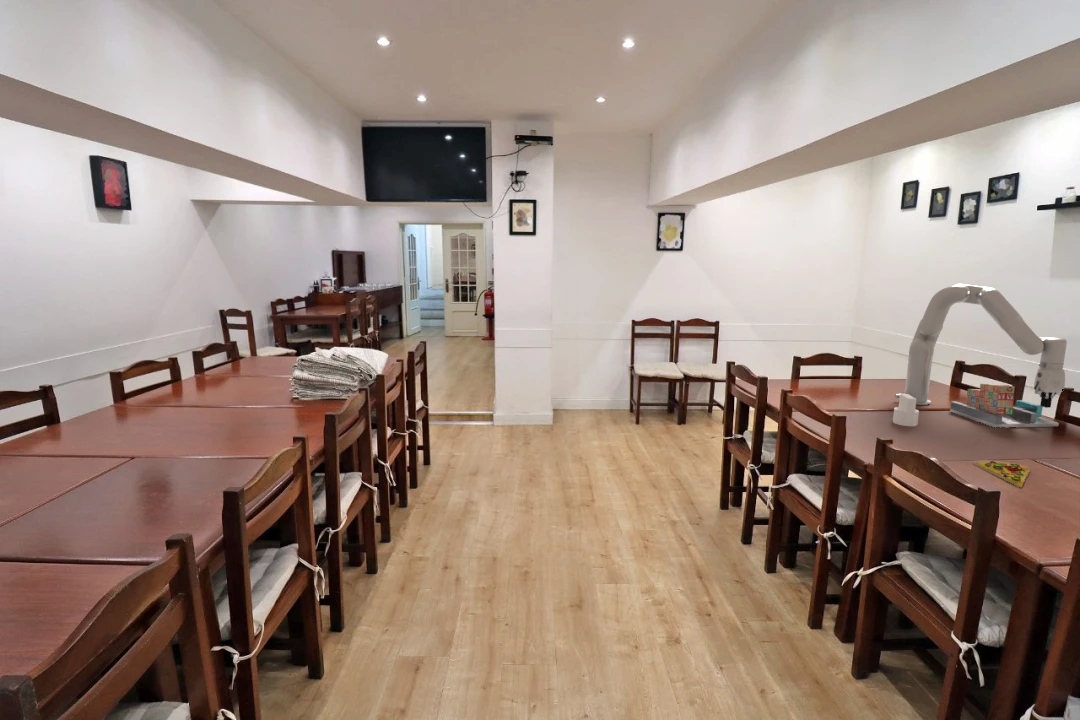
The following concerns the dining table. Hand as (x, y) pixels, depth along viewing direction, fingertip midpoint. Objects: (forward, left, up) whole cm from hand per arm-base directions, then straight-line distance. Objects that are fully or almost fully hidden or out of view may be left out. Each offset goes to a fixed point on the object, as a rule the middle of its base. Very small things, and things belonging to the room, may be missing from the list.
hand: (1045, 406), depth 243 cm
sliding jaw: (-12, 0, -3) cm, 13 cm away
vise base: (-19, 0, -5) cm, 20 cm away
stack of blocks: (-26, 0, -2) cm, 26 cm away
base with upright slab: (-65, -2, -5) cm, 66 cm away
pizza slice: (-72, -60, -6) cm, 94 cm away
